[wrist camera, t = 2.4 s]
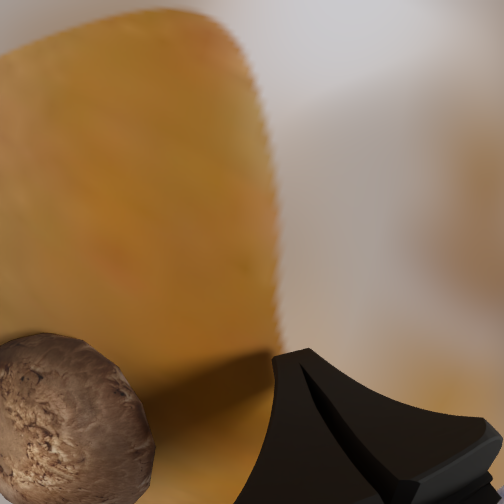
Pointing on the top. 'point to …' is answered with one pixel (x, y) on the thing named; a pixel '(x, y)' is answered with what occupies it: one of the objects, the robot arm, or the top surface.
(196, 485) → the top surface
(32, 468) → the mushroom
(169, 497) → the top surface
